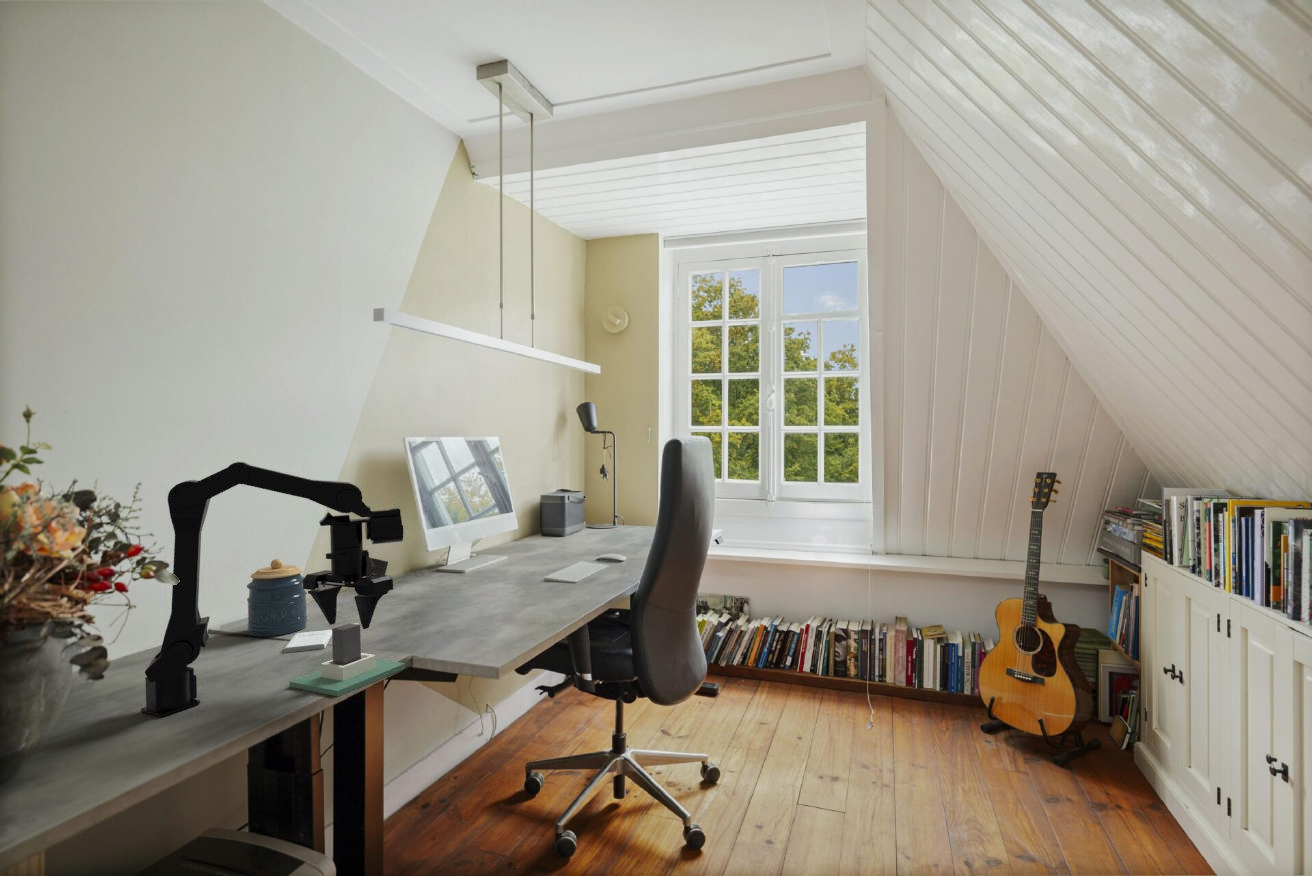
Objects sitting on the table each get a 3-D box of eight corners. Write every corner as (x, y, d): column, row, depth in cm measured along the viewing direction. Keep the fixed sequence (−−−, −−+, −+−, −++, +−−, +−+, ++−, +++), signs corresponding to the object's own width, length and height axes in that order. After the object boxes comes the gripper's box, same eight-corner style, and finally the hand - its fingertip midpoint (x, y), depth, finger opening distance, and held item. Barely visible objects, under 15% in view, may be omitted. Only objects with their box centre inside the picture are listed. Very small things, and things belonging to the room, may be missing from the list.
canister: (306, 632, 165) (305, 560, 165) (245, 640, 159) (243, 565, 159) (308, 620, 177) (306, 552, 177) (250, 627, 171) (248, 557, 171)
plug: (344, 677, 129) (343, 630, 129) (333, 675, 130) (332, 628, 130) (364, 669, 134) (363, 623, 134) (353, 667, 135) (352, 622, 135)
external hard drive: (283, 655, 149) (295, 639, 161) (324, 650, 151) (333, 635, 163) (283, 647, 149) (295, 632, 161) (324, 643, 151) (332, 628, 163)
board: (337, 696, 122) (337, 677, 122) (289, 686, 128) (289, 668, 128) (405, 668, 137) (404, 651, 137) (359, 660, 142) (358, 644, 142)
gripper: (413, 542, 135) (415, 620, 135) (347, 538, 143) (349, 612, 143) (368, 551, 125) (370, 635, 125) (300, 547, 133) (302, 626, 133)
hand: (349, 626), depth 132 cm, fingers open, 9 cm apart
